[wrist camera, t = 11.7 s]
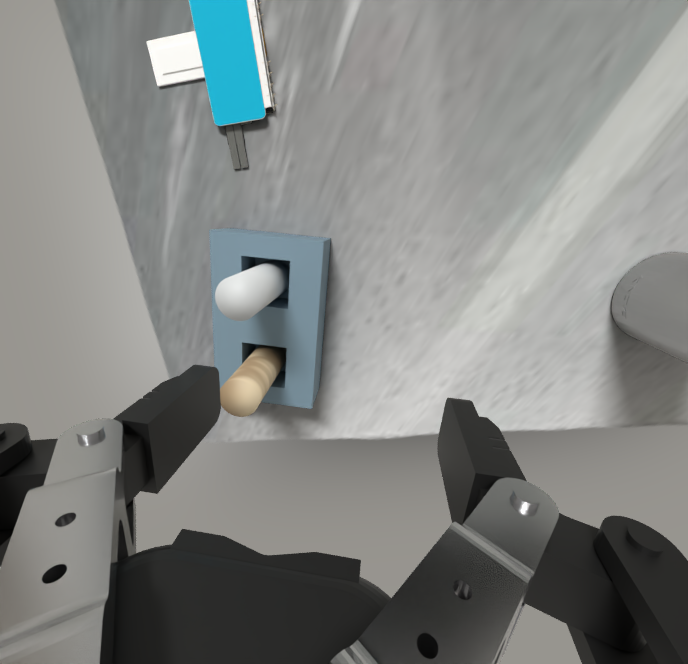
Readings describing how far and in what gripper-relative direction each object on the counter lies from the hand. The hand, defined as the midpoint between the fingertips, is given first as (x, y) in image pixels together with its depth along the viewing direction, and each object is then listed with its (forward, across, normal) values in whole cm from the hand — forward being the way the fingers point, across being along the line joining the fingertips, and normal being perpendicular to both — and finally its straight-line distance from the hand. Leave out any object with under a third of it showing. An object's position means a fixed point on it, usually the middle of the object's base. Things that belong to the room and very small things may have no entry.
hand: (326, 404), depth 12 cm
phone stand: (+27, +17, -20) cm, 38 cm away
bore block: (+27, +10, +5) cm, 29 cm away
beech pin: (+26, +10, +10) cm, 29 cm away
